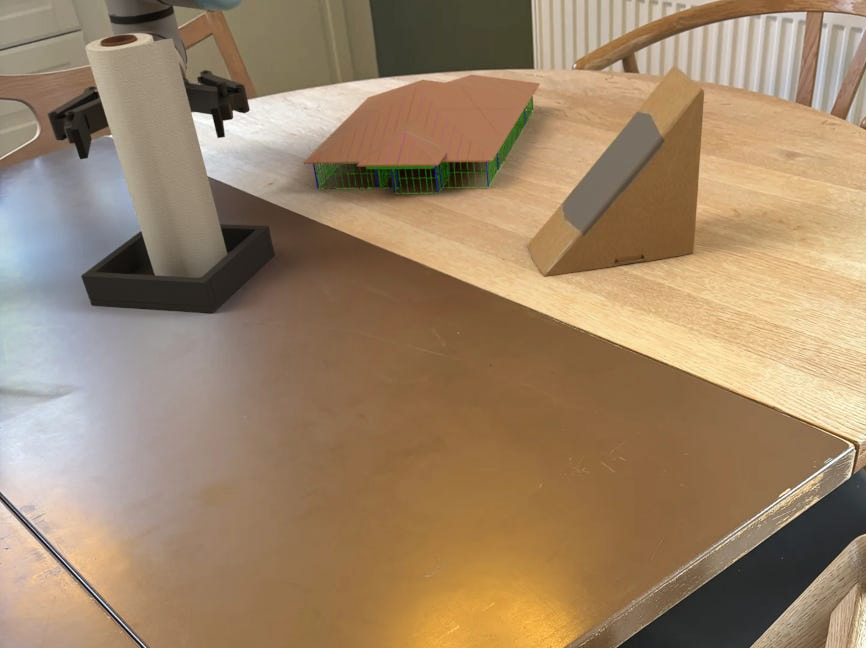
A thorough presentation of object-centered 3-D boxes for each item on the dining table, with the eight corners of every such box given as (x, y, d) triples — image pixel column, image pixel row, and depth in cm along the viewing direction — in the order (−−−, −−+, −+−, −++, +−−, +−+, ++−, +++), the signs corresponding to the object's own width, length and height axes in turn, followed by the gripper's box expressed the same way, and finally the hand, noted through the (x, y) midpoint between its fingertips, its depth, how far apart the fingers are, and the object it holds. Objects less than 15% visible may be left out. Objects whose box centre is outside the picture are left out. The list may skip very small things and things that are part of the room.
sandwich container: (524, 244, 105) (516, 85, 95) (668, 222, 106) (674, 63, 96) (542, 277, 99) (535, 110, 89) (694, 254, 100) (705, 86, 90)
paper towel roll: (144, 275, 106) (71, 43, 91) (192, 255, 109) (129, 27, 94) (182, 291, 102) (113, 52, 87) (231, 270, 105) (172, 35, 90)
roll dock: (91, 305, 103) (80, 275, 100) (161, 249, 112) (153, 221, 110) (213, 313, 99) (204, 282, 97) (275, 254, 108) (268, 225, 106)
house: (300, 199, 120) (286, 125, 115) (381, 113, 143) (372, 48, 138) (488, 199, 115) (483, 121, 110) (540, 109, 138) (537, 42, 133)
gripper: (268, 99, 119) (282, 154, 104) (53, 132, 117) (34, 192, 101) (253, 27, 114) (266, 72, 99) (28, 59, 112) (4, 111, 96)
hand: (149, 133), depth 100 cm, fingers open, 13 cm apart
